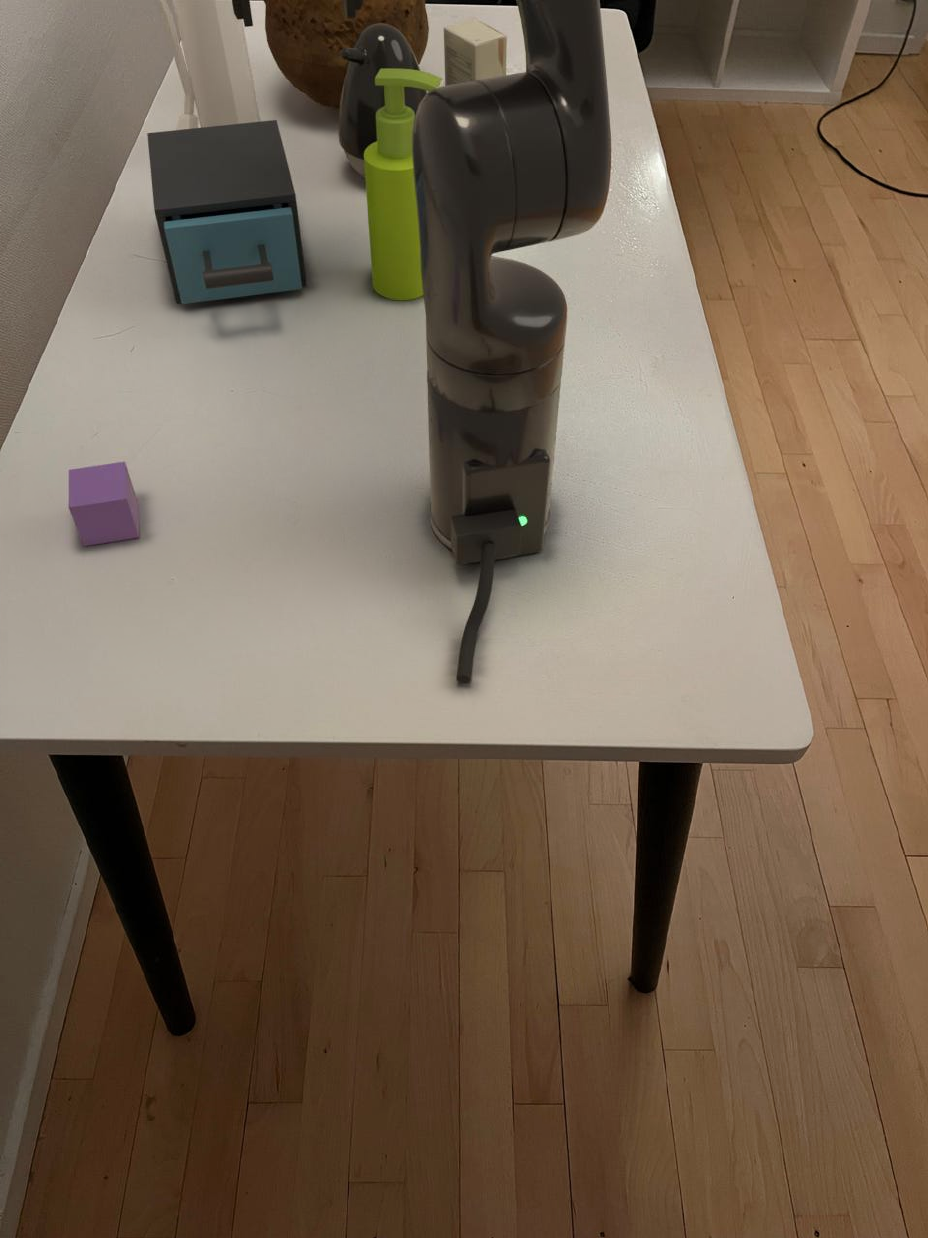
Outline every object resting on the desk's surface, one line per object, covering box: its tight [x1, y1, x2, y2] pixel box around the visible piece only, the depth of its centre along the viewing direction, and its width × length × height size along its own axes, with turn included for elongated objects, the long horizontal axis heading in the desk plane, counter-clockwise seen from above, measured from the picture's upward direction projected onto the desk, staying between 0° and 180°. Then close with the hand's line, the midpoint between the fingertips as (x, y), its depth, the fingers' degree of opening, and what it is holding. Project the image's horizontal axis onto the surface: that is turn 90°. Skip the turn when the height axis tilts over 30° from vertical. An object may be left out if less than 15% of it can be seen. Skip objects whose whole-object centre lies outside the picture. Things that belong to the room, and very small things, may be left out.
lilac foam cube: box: [68, 461, 140, 547], centre depth 81 cm, size 4×4×4 cm
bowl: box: [263, 0, 430, 109], centre depth 123 cm, size 19×19×15 cm
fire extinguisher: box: [154, 0, 261, 130], centre depth 110 cm, size 7×12×25 cm, turn 103°
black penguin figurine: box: [337, 23, 428, 178], centre depth 112 cm, size 10×10×15 cm
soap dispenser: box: [364, 69, 443, 301], centre depth 96 cm, size 6×7×20 cm
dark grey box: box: [146, 119, 308, 304], centre depth 103 cm, size 15×13×10 cm
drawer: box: [164, 204, 303, 305], centre depth 100 cm, size 18×11×8 cm, turn 13°
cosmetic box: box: [443, 18, 508, 86], centre depth 117 cm, size 6×4×12 cm
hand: (299, 18), depth 88 cm, fingers open, 8 cm apart
